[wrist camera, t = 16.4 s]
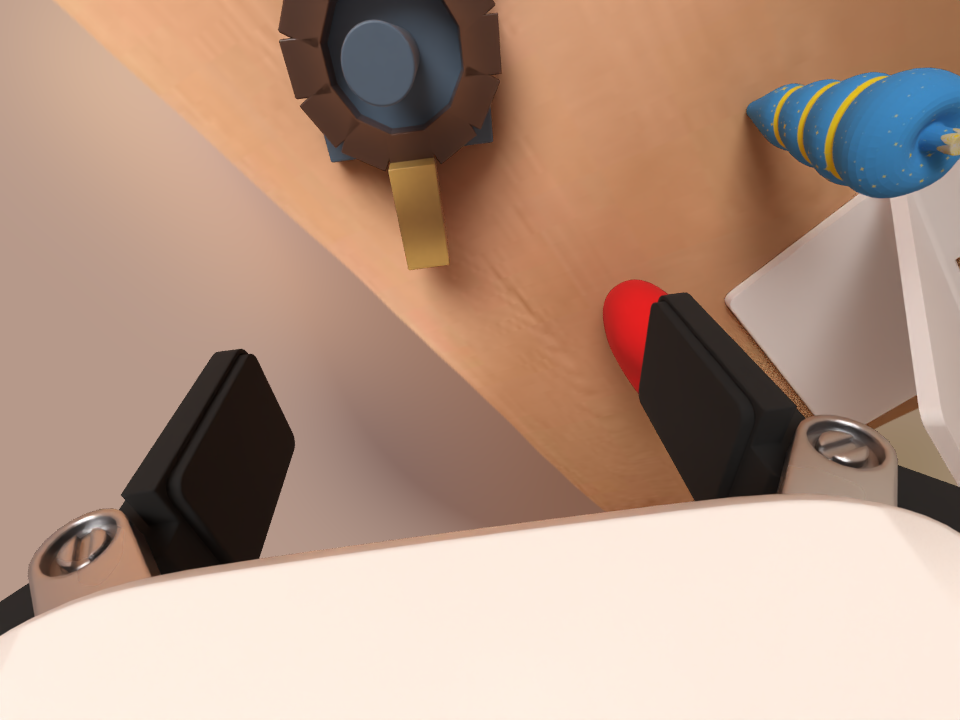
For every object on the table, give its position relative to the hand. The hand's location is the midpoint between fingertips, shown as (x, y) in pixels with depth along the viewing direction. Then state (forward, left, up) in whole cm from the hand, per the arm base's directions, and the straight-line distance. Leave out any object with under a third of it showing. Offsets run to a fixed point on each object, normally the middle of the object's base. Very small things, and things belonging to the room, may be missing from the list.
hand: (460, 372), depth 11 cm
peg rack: (-6, -2, -23) cm, 24 cm away
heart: (+13, +13, -23) cm, 30 cm away
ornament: (-1, +20, -23) cm, 31 cm away
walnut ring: (-3, -2, -22) cm, 22 cm away
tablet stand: (+17, +36, -23) cm, 46 cm away
